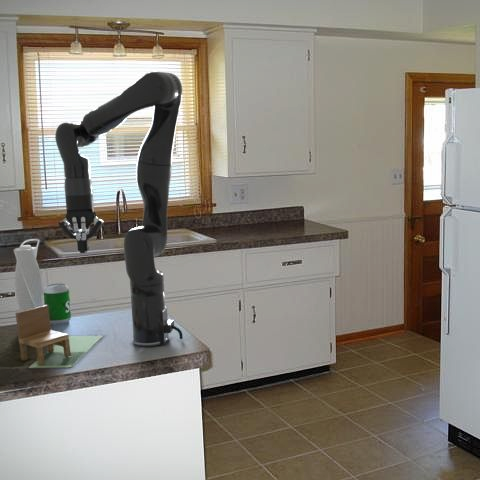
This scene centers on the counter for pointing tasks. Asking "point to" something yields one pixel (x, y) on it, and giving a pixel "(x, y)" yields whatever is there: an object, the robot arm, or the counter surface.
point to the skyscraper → (28, 277)
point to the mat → (77, 350)
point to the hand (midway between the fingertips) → (83, 252)
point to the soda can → (58, 303)
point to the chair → (39, 333)
